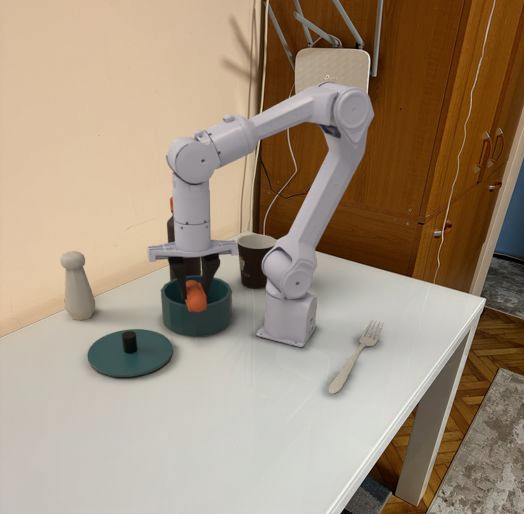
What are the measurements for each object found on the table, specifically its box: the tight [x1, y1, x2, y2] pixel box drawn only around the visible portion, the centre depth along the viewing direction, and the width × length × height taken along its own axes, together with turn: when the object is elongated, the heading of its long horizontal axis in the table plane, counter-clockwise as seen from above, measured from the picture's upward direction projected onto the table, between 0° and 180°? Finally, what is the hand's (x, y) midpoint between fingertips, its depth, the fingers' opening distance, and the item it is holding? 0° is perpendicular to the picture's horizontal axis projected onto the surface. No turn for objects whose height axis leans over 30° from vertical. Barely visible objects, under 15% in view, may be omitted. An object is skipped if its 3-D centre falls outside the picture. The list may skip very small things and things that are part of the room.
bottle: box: [166, 196, 202, 281], centre depth 108 cm, size 7×7×20 cm
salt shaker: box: [60, 250, 96, 321], centre depth 97 cm, size 6×6×13 cm
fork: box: [328, 319, 385, 395], centre depth 91 cm, size 3×24×2 cm, turn 152°
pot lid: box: [87, 328, 173, 378], centre depth 88 cm, size 14×14×4 cm
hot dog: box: [185, 280, 207, 312], centre depth 87 cm, size 9×3×3 cm, turn 17°
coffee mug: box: [236, 233, 277, 290], centre depth 115 cm, size 12×9×10 cm
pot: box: [160, 275, 233, 338], centre depth 100 cm, size 13×13×6 cm
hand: (194, 296), depth 87 cm, fingers closed on hot dog, 3 cm apart
